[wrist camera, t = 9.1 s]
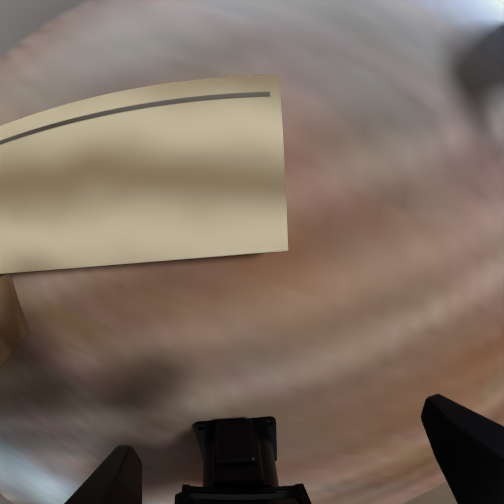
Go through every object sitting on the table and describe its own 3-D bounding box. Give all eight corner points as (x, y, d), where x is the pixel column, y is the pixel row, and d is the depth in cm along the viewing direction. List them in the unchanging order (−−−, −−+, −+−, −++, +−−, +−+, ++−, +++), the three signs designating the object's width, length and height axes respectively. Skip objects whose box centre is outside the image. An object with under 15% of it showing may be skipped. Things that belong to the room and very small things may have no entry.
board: (281, 240, 19) (288, 250, 17) (-33, 268, 17) (-48, 277, 16) (273, 82, 16) (278, 74, 14) (-52, 154, 15) (-69, 157, 13)
